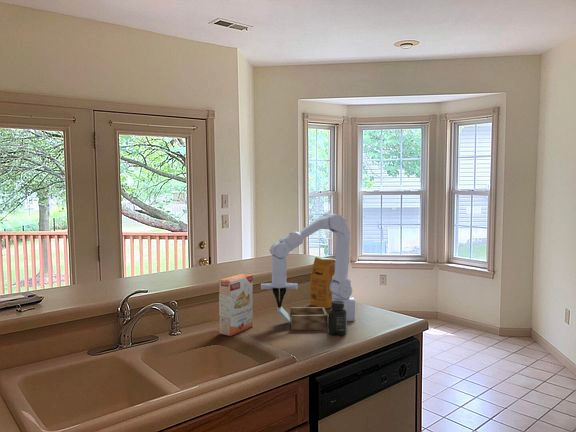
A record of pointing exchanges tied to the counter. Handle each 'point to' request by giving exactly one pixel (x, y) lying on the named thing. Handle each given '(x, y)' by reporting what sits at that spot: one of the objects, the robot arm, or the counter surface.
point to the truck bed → (308, 318)
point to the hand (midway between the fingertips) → (279, 306)
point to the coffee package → (321, 282)
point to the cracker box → (235, 304)
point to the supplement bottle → (337, 319)
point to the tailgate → (284, 314)
